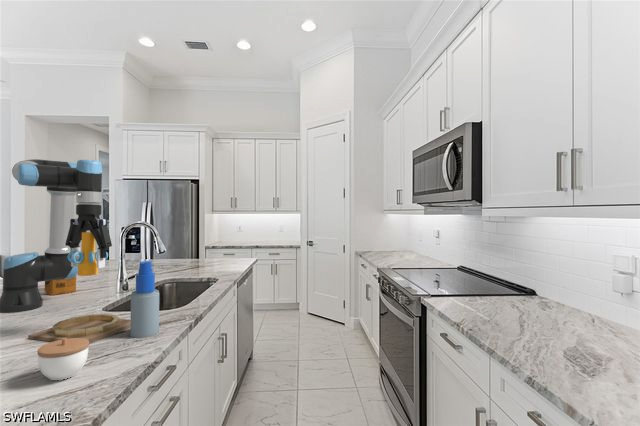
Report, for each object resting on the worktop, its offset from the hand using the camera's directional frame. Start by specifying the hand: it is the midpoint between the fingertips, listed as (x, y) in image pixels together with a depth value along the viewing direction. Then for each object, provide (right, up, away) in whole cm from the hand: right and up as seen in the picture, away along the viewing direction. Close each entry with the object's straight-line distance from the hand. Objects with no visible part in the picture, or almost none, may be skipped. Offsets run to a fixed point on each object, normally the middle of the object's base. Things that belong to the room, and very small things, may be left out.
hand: (88, 266), depth 124 cm
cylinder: (0, -3, 0) cm, 3 cm away
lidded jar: (+16, -23, -34) cm, 44 cm away
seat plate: (0, -23, 0) cm, 23 cm away
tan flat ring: (0, -21, 0) cm, 21 cm away
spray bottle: (+21, -23, -2) cm, 31 cm away
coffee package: (-52, -22, +57) cm, 80 cm away
